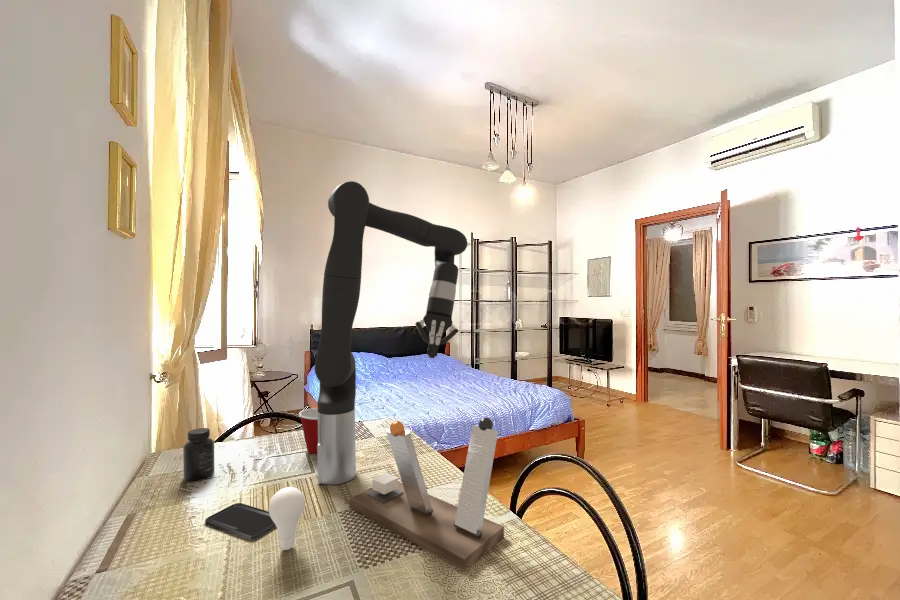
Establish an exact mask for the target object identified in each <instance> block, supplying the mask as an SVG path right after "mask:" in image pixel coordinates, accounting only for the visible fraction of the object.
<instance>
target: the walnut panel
mask: <svg viewBox="0 0 900 600" xmlns="http://www.w3.org/2000/svg"><path fill="white" fill-rule="evenodd" d="M428 496H429V499H430V502H431V506H432V509H433V513H432V515H428V514H425V513H423V512H421V511H419V510H417V509H414V508H412V507H410V506H409V503H408V499H407V496H406V493H405V490H404V487H403V483H402V482H401V481H398V488H397V489H395V490H393V491H391V492H390V493H388V494H385V495H384V494H382V493H380V492H378V491H375V490H373V487H370V488H368V489H367V490H364V491H362V492H360V493H358V494H356V495H353V496H351V497H349V499H348V500H349V502H348V503H349V505H348V508H350V509H351V510H353V511H355V512H357V513H359V514H360V515H362V516H363V517H366V518H367V519H369V520H371V521H373V522H375V523H377V524H379V525H380V526H382V527H384V528H386V529H387V530H389V531H391V532H393V533H395V534H397V535H398V536H400V537H402V538H404V539H406V540H408V541H409V542H410V543H413V544H414V545H416V546H418V547H420V548H421V549H423V550H425V551H426V552H429V553H431V554H433V555H435V556H436V557H438V558H440V559H442V560H444V561H445V562H447V563H449V564H450V565H453V566H454V567H456V568H458V569H460V570H461V571H463V572H466V571H467V570H469V568H471V567H472V566H473V565H474V564H475V563H476V562H477V561H479V560H480V559H481V558H482V557H483V556H485V554H487V553H488V552H489V551H490V550H491V549H492V548H493V547H494V546H495V545H497V544H498V543H499V542H500V541H501V540H502V539H503V538H504V537H505V526H504V525H501V524H499V523H497V522H494V521H492V520H490V519H488V518H485V517H484V519H483V525H482V535H481V537H480V538H477V537H475V536H473V535H471V534H469V533H467V532H465V531H462V530H460V529H458V528H456V527H454V522H455V519H456V513H457V508H458V505H457V506H456V505H454V504H452V503H449V502H447V501H445V500H442V499H440V498H437V497H436V496H433V495H431V494H429V493H428Z"/></svg>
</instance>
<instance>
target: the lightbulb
mask: <svg viewBox="0 0 900 600" xmlns="http://www.w3.org/2000/svg"><path fill="white" fill-rule="evenodd" d="M305 505H306V499H305V495H304V494H303V492H302V491H301V490H300V489H299V488H297V487H293V486H286V487H283V488H281V489H278V491H277V492H276V493H275V492H274V495H273V496H272V497H271V499H270V502H269V504H268V512H269V514H270V517H271V519H272V520H273V522H274V523H275V525H276V529H277V536H278V538H279V548H280V549H281V550H284V551H289V550H291V549H292V548H293V547H294V546H295V545H296V537H297V535H296V534H297V533H298V532H297V530H298V525H299V521H300V519H301V517H302V514H303V512H304V511H305V507H306V506H305Z"/></svg>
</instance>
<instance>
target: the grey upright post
mask: <svg viewBox="0 0 900 600" xmlns="http://www.w3.org/2000/svg"><path fill="white" fill-rule="evenodd" d="M493 428H494V422H493V420H492V419H491V418H489V417H488V416H487V417H482V418H481V419H480V420H479V422H478V425H474V424H473V425H472V427H471V432H470V433H471V434H470V437H469V438H470V439H469V443H468V449H467V455H466V458H465V459H466V460H465V466H464V471H463V475H462V476H463V477H462V482H461V487H460V493H459V497H458V502H457V504H458V505H457V507H458V508H457V513H456V519H455V522H454V527H456V528H458V529H460V530H462V531H465V532H467V533H469V534H471V535H473V536H475V537H477V538H480V537H481V535H482V525H483V519H484V518H485V511H486V506H487V501H488V500H487V499H488V495H489V489H490V482H491V475H492V470H493V463H494V457H495V452H496V445H497V442H498V441H497V439H498V433H499V430H495V429H493Z"/></svg>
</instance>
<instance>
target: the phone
mask: <svg viewBox="0 0 900 600" xmlns="http://www.w3.org/2000/svg"><path fill="white" fill-rule="evenodd" d="M204 524H205V525H206V526H207V527H211V528H214V529H217V530H218V531H221V532H224V533H227V534H230V535H232V536H236V537H238V538H240V537H241V539H244V540H245V541H249V542H252V541H257V540H258V539H260V538H262V537H263V536H265V535H267V534H268V533H269V532H271V531H272V530H274V529H275V528H276V529H277V527H276V525H275V523H274V522H273V520H272V519H271V517H270V514H269V510H265V509H260V508H258V507H256V506H255V507H254V506H252V505H248V504H245V503H241V502H237V503H233V504H232V505H230V506H227V507H225V508H223V509H222V510H219V511H217V512H215V513H213V514H212V515H209V516H207V517H206V518H205V519H204Z"/></svg>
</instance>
